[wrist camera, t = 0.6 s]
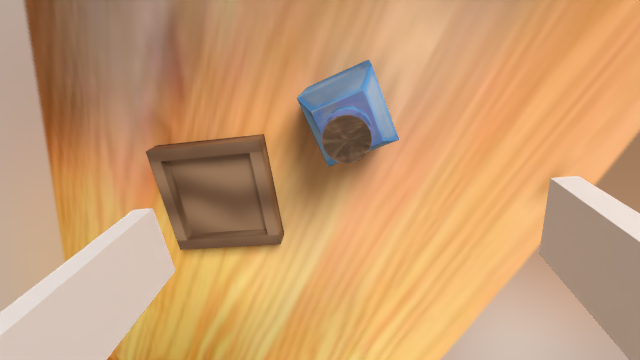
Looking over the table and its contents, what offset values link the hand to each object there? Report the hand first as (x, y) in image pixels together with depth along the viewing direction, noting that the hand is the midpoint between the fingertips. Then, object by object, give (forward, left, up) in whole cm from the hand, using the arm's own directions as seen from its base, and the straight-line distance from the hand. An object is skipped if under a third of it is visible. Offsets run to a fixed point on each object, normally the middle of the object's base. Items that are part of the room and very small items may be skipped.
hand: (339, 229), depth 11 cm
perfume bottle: (0, 0, -23) cm, 23 cm away
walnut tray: (+8, -15, -22) cm, 28 cm away
